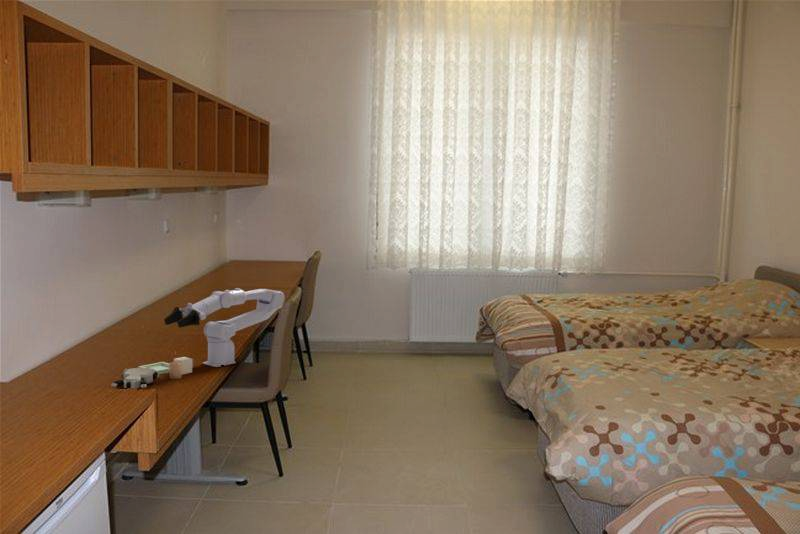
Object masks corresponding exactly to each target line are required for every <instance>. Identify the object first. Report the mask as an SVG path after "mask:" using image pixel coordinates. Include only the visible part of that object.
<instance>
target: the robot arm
mask: <svg viewBox="0 0 800 534" xmlns="http://www.w3.org/2000/svg"><path fill="white" fill-rule="evenodd" d="M250 300H252V301H253V300H257V301H256V306H255V307H256V309H253V310H251V311H248V312H245V313H243V314H240V315H236V316H235V317H232V318H230V319H226V320H217V321H213V320H212V321H208V322H206V323H205V324H204V328H203V334H204V336H205V337H206V340H207V360H206V361H203V362H202V364H204V365H206V366H209V367H210V366H211V367H214V368H218V367H222V366H221V365H224V366H228V365H233V364H236V361H235V344H234V341H233V340H232V339H231V338H232V337H233V336H235V335H236V332H238V331H240V330H243V329H246V328H249V327H252V326H253V325H257V324H258V323H262V322H264V321H266V320H268V319H270V318H271V317H272V316H273V314H275V312H277V310H280V309H282V308H283V305H284V302H285V294H284V292H283V291H281V290H273V289H268V288H258V289H253V290H248V291H246V290H243V289H241V288H240V287H236V288H234V289H233V290H229V289H225V290H224V291H220V290H218V291H217V290H214V291H213V292H212V293H211V294H210V296H208V297H205V298H204V299H201V300H199V301H198V302H195V303H194V304H193V303H192V302H188V303H187V304H186V305H187V306H186V307H183V308H180V307H178V306H176V307H174V308H173V310H172V312H171V313H170V314H169V315H167V316H166V317H165V318H164V319H163V320H164V323H165V325H167V326H168V325H172V324H176V323H177V326H178V328H184V327H188V326H200V324H201V323H200V321H203V320H206V319H207V316H208V315H211V314H212V313H214V312H217V311H218V310H220V309H221V308H225V309H229V308H230V307H231V306H237V305H243V304H245V302H246V301H250Z"/></svg>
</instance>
